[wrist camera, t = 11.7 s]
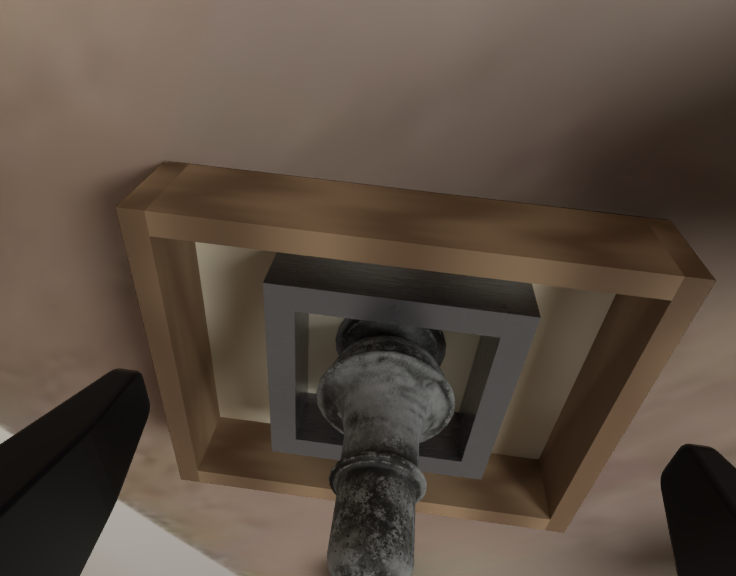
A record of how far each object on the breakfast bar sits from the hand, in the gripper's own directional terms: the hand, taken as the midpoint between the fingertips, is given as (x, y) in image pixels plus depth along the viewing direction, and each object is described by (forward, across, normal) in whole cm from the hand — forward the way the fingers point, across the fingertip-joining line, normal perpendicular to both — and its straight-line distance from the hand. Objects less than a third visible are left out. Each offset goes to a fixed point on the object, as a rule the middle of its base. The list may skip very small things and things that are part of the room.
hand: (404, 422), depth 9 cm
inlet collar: (+13, 0, +10) cm, 16 cm away
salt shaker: (+13, 0, +10) cm, 16 cm away
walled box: (+13, 0, +10) cm, 16 cm away
